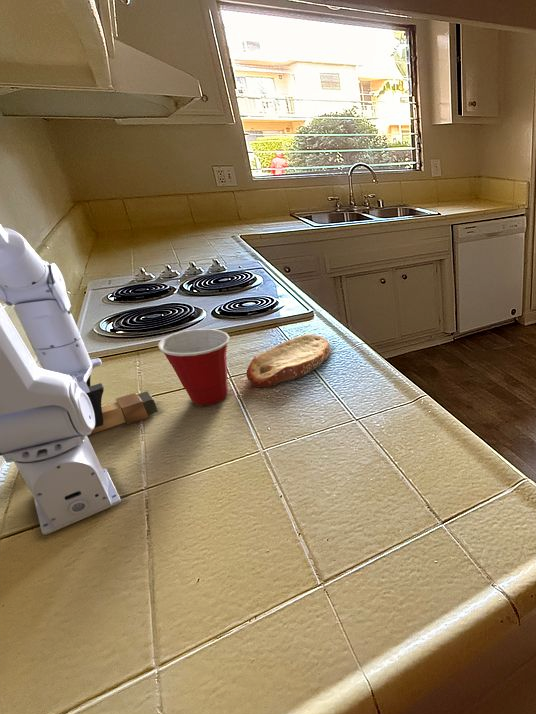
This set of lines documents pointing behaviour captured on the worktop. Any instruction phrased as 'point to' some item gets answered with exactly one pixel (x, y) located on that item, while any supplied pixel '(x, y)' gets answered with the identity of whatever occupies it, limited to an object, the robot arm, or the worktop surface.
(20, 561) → the worktop surface
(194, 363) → the plastic cup
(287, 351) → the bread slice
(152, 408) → the brush
